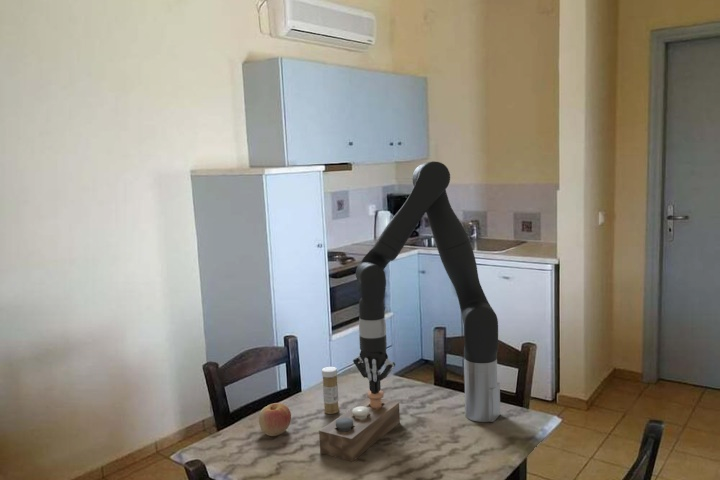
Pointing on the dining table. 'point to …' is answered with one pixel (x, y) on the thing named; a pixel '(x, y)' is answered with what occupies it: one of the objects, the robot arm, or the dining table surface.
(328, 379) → the sprinkles bottle
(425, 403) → the dining table surface
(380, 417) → the walnut block
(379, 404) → the terracotta plug
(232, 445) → the dining table surface
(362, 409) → the cream plug
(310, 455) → the dining table surface
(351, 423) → the charcoal plug
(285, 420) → the apple
